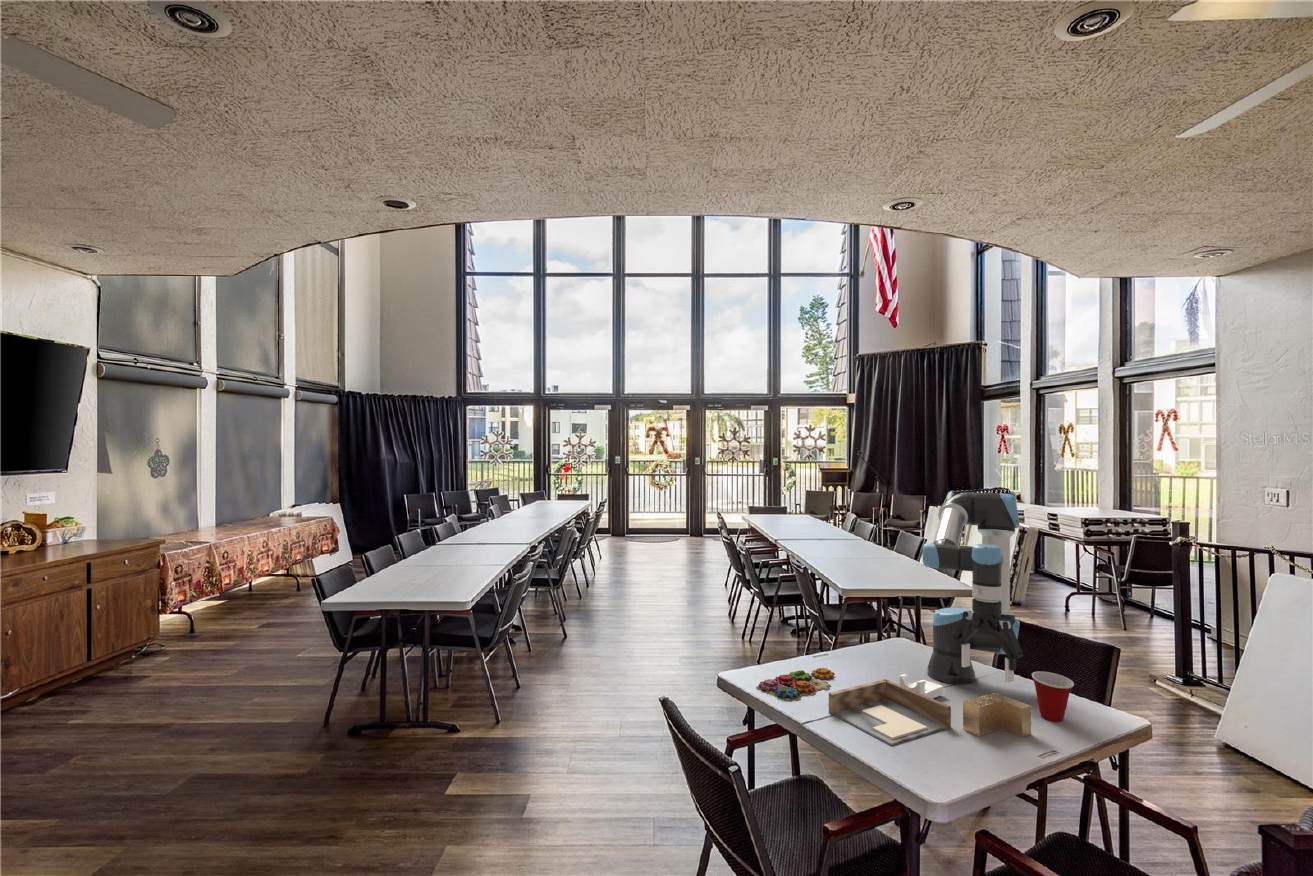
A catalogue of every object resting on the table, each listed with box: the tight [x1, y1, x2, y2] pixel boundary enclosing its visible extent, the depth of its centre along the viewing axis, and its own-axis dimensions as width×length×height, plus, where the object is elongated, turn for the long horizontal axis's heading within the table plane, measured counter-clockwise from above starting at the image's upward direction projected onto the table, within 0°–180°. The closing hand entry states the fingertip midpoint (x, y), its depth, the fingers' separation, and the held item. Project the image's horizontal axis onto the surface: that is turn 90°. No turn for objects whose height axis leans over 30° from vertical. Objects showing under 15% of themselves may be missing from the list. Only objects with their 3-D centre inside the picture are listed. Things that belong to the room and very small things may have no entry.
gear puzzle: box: [755, 667, 836, 702], centre depth 218 cm, size 31×16×4 cm, turn 127°
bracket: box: [899, 673, 944, 699], centre depth 207 cm, size 13×7×8 cm, turn 126°
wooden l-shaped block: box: [962, 692, 1032, 738], centre depth 183 cm, size 14×11×8 cm
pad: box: [862, 705, 927, 740], centre depth 187 cm, size 14×17×1 cm
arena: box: [828, 678, 952, 747], centre depth 191 cm, size 24×24×6 cm
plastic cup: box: [1031, 670, 1075, 723], centre depth 192 cm, size 11×11×12 cm
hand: (986, 673), depth 185 cm, fingers open, 13 cm apart
